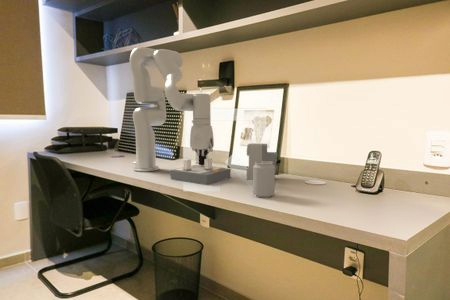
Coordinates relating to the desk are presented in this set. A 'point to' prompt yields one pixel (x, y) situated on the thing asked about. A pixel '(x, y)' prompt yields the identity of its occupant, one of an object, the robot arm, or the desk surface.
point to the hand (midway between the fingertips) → (202, 164)
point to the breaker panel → (201, 174)
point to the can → (263, 179)
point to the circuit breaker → (259, 157)
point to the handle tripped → (208, 164)
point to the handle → (187, 164)
